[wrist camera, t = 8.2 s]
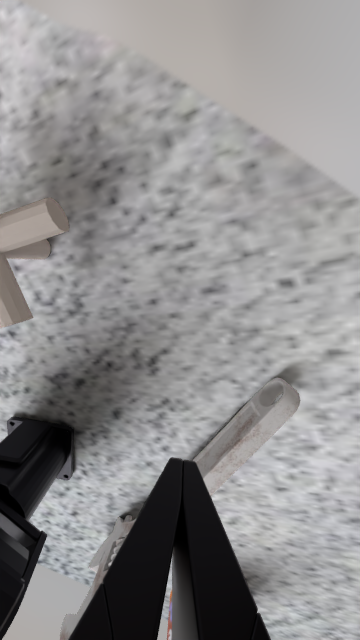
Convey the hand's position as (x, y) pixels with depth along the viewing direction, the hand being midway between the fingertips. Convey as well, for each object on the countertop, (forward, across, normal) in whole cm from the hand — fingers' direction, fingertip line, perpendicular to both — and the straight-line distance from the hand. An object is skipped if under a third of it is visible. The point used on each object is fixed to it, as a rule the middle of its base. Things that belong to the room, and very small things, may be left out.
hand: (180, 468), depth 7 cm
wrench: (+12, -1, +15) cm, 19 cm away
